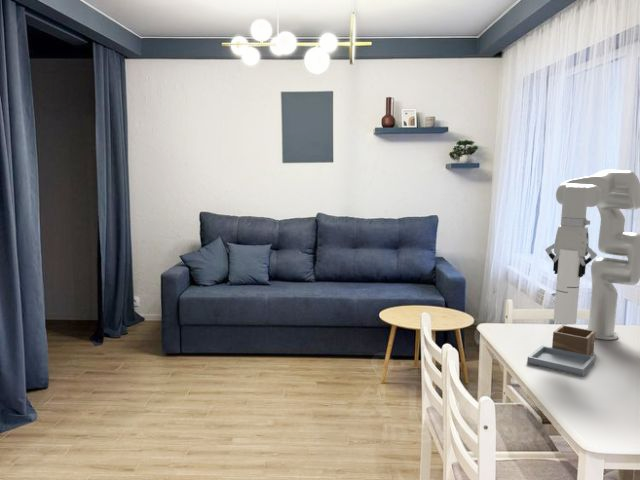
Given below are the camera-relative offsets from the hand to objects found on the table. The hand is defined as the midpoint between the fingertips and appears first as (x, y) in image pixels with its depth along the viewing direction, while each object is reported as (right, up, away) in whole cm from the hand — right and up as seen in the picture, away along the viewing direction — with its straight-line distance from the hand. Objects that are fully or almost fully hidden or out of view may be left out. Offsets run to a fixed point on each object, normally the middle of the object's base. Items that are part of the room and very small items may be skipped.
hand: (568, 274), depth 197 cm
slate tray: (-1, -31, +4) cm, 31 cm away
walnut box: (+8, -30, +16) cm, 35 cm away
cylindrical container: (0, -16, +2) cm, 16 cm away
